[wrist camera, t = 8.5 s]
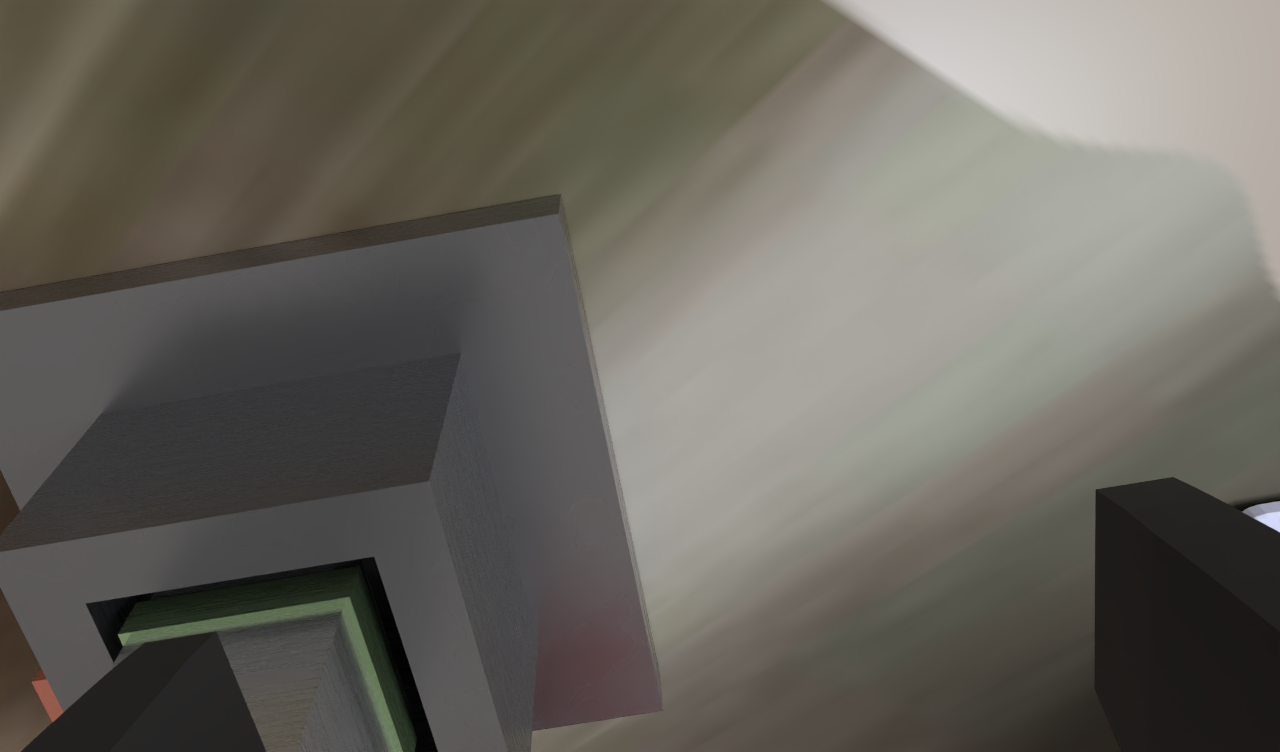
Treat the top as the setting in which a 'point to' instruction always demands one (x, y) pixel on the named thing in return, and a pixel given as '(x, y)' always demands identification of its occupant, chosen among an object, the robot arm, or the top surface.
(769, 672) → the top surface
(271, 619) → the light grey rectangular block
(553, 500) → the grey square socket base
